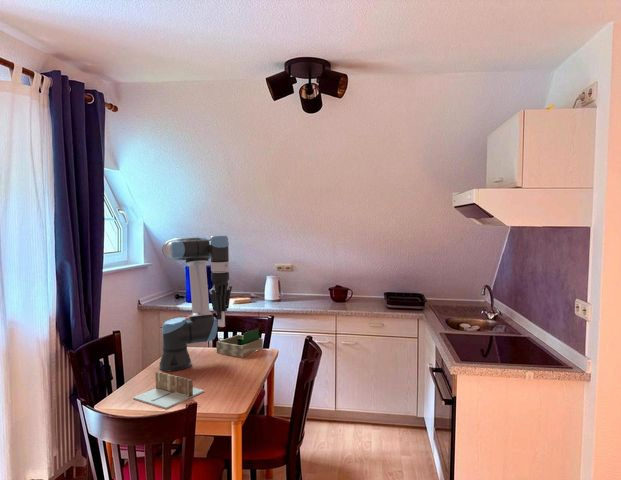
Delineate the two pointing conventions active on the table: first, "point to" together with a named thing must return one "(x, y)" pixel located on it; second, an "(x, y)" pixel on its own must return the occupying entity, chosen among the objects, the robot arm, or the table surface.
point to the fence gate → (183, 386)
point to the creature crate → (238, 346)
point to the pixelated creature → (248, 337)
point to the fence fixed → (165, 381)
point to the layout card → (164, 397)
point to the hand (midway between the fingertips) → (221, 326)
